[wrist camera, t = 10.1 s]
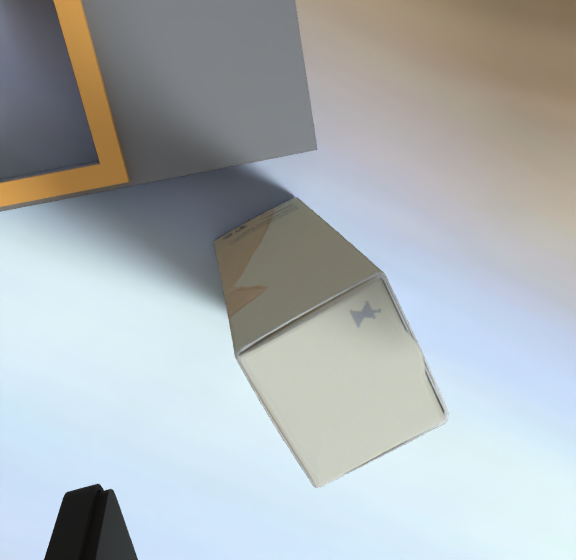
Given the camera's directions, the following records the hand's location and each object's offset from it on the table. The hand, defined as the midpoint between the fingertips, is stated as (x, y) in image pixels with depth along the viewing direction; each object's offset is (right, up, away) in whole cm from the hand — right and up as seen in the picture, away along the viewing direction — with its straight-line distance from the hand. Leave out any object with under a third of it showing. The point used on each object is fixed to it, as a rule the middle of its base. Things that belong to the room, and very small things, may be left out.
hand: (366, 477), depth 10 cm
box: (-2, +4, +14) cm, 15 cm away
